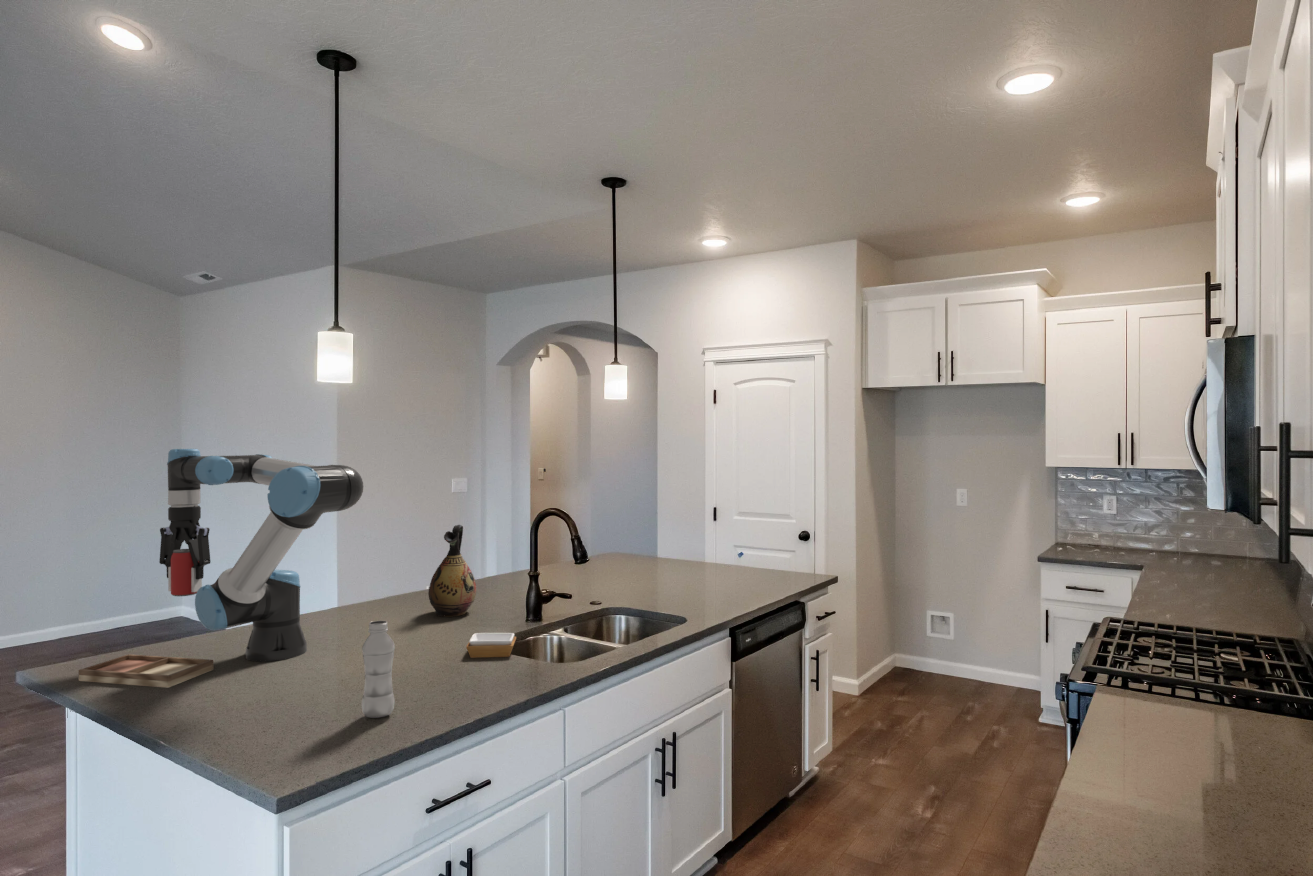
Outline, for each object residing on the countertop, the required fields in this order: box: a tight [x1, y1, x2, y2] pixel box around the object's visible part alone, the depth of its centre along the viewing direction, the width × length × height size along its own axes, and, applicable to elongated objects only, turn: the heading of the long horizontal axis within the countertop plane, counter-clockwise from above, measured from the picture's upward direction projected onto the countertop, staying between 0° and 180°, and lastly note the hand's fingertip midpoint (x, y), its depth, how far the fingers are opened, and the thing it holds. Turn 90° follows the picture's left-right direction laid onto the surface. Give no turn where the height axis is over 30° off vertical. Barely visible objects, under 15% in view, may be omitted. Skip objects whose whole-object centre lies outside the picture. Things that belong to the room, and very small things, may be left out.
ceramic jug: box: [427, 524, 477, 618], centre depth 259 cm, size 17×15×30 cm
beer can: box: [170, 548, 199, 597], centre depth 209 cm, size 7×7×12 cm
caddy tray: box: [78, 653, 214, 689], centre depth 194 cm, size 26×14×3 cm, turn 78°
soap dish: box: [465, 632, 517, 659], centre depth 212 cm, size 12×10×5 cm
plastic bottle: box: [361, 620, 396, 719], centre depth 165 cm, size 6×7×20 cm
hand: (185, 590), depth 209 cm, fingers closed on beer can, 7 cm apart
